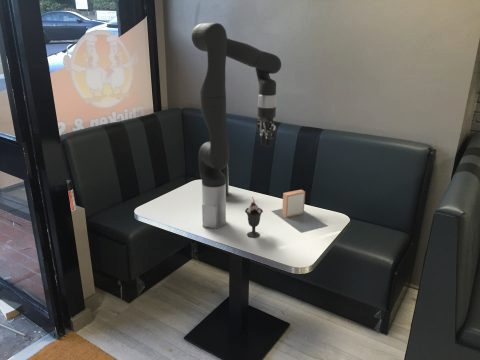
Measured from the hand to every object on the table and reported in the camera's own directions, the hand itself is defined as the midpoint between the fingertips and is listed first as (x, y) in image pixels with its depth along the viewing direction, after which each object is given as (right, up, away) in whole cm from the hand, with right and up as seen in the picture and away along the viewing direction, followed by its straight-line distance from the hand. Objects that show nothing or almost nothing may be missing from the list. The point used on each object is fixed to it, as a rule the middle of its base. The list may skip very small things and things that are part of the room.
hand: (265, 145), depth 169 cm
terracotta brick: (+11, -29, -2) cm, 31 cm away
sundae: (-6, -36, -18) cm, 40 cm away
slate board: (+13, -31, -5) cm, 34 cm away
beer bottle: (-22, -22, +20) cm, 36 cm away
